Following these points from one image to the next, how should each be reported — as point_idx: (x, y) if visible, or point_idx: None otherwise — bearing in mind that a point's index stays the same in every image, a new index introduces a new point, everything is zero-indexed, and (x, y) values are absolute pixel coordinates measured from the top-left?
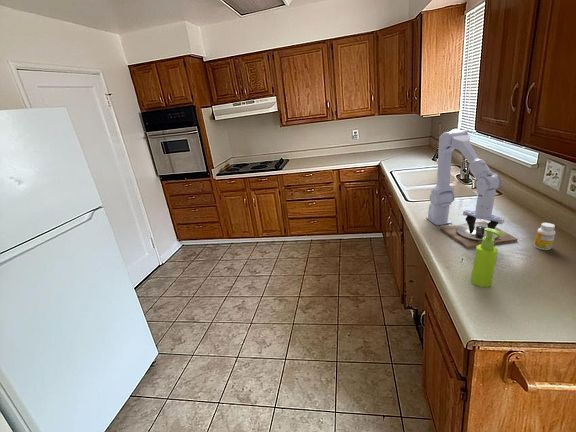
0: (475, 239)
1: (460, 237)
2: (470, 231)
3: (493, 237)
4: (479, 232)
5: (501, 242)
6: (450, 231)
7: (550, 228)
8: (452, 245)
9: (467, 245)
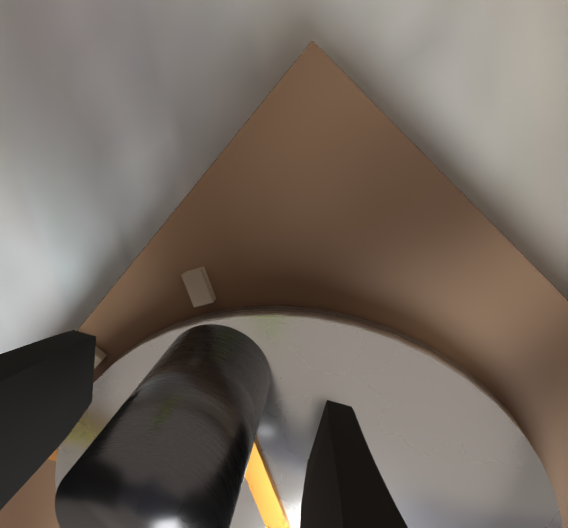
0: (254, 311)
1: (464, 319)
2: (341, 422)
3: (78, 431)
4: (169, 390)
5: None
6: None
7: None
8: (548, 54)
9: (322, 73)
